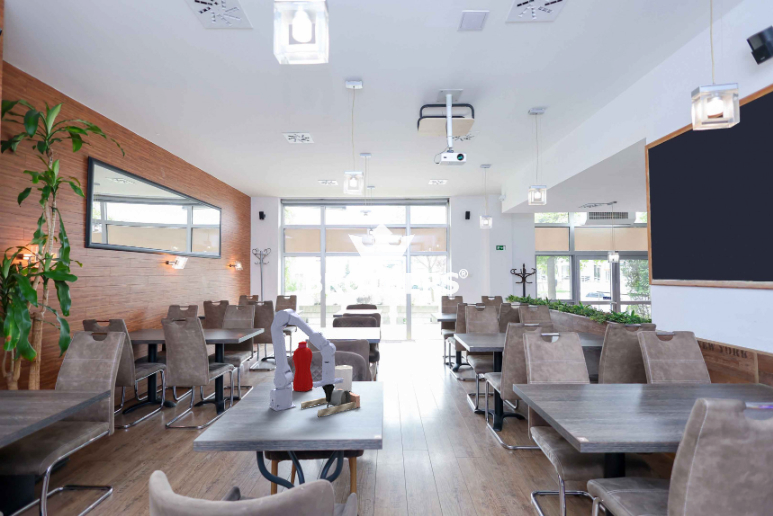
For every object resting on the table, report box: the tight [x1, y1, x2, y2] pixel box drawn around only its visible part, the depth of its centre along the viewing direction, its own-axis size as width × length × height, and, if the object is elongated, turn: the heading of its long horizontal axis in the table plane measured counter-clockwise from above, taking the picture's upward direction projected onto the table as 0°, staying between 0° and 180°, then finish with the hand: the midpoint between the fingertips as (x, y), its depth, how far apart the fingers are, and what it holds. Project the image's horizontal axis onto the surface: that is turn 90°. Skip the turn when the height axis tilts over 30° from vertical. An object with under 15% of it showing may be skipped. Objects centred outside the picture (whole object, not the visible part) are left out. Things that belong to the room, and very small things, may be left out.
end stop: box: [337, 389, 361, 409], centre depth 196 cm, size 2×16×5 cm, turn 38°
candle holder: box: [334, 365, 354, 392], centre depth 218 cm, size 10×10×12 cm
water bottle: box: [291, 340, 314, 393], centre depth 223 cm, size 9×11×25 cm
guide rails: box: [300, 396, 357, 418], centre depth 190 cm, size 19×16×2 cm
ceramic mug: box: [326, 389, 351, 408], centre depth 190 cm, size 11×8×8 cm
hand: (328, 401), depth 190 cm, fingers closed, pressing on ceramic mug
